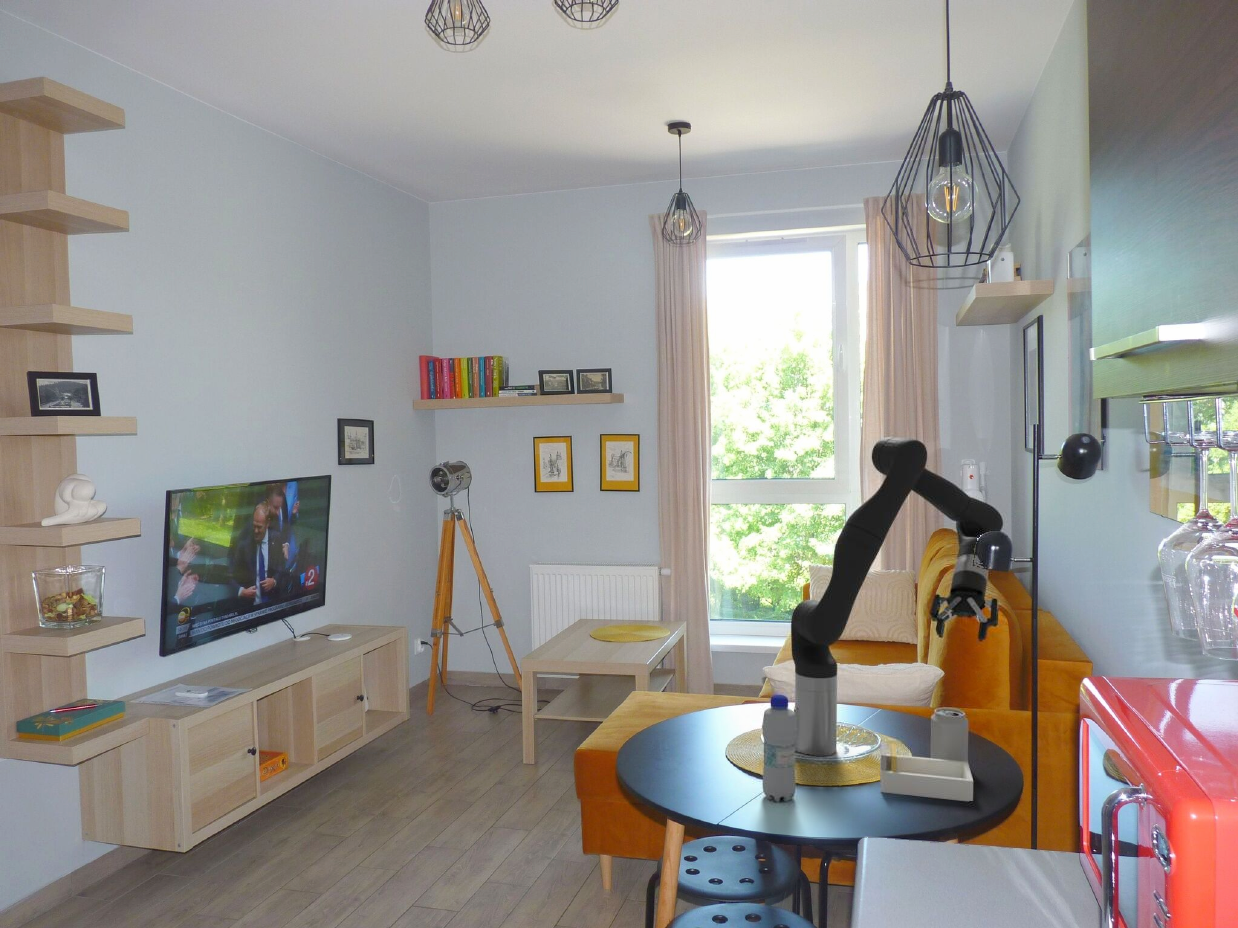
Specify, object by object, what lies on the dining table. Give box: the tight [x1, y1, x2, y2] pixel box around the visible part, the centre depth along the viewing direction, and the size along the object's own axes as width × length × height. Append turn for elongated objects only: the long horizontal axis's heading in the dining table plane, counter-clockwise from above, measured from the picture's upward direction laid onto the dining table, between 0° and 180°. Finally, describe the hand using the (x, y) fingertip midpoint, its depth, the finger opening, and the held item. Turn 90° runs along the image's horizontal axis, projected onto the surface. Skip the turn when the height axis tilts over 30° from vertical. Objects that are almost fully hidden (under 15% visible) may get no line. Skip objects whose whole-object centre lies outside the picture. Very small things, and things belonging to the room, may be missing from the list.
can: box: [930, 707, 969, 763], centre depth 192 cm, size 8×8×12 cm
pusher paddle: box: [890, 743, 898, 772], centre depth 182 cm, size 1×8×6 cm, turn 164°
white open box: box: [880, 740, 974, 802], centre depth 181 cm, size 17×11×7 cm, turn 74°
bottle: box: [761, 694, 797, 803], centre depth 175 cm, size 7×7×20 cm
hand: (960, 637), depth 201 cm, fingers open, 8 cm apart
